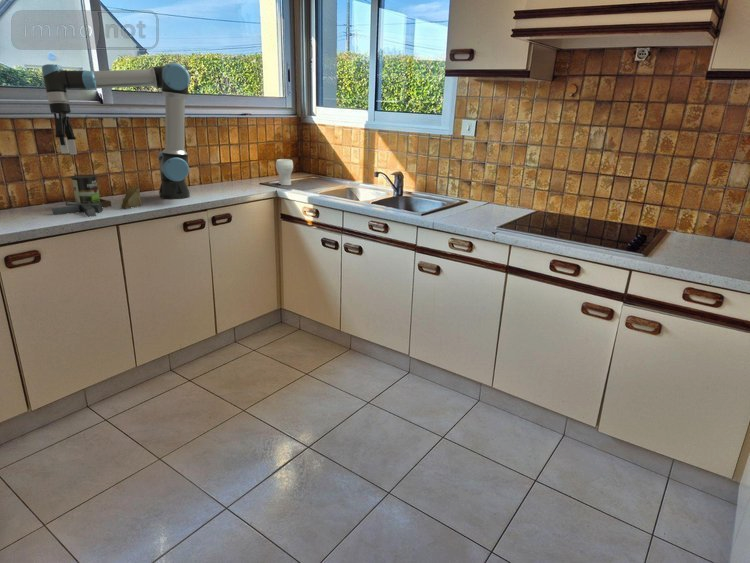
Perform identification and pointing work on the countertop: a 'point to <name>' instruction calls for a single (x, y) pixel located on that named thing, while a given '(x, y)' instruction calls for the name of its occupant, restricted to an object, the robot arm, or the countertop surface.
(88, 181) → the coffee can
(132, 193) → the rock
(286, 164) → the cup
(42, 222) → the countertop surface
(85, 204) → the dark grey branched bar
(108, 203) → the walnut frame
